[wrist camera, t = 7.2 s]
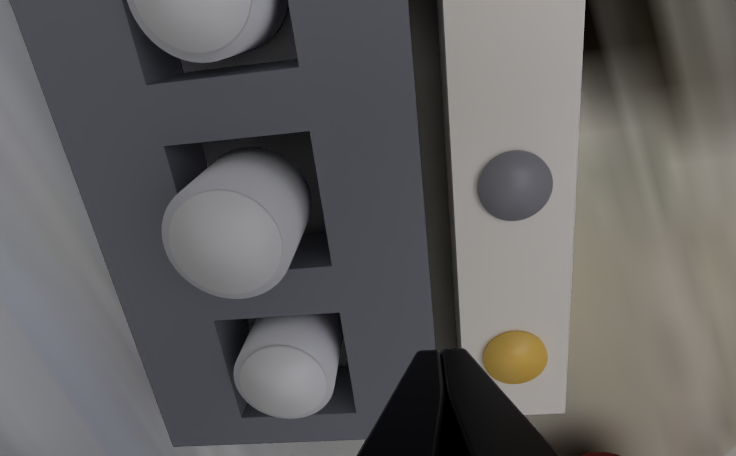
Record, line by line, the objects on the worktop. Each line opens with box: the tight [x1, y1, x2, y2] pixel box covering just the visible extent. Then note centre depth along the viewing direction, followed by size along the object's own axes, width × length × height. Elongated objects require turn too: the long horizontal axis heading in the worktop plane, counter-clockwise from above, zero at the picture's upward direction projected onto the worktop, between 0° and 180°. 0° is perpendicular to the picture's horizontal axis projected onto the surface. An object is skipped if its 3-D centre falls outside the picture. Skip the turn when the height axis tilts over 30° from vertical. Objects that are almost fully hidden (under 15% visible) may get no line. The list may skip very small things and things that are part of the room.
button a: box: [233, 313, 343, 419], centre depth 22 cm, size 4×4×4 cm
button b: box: [161, 147, 312, 299], centre depth 17 cm, size 4×4×4 cm
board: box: [9, 0, 436, 447], centre depth 19 cm, size 12×22×3 cm, turn 7°
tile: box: [437, 0, 585, 415], centre depth 18 cm, size 4×20×3 cm, turn 7°
